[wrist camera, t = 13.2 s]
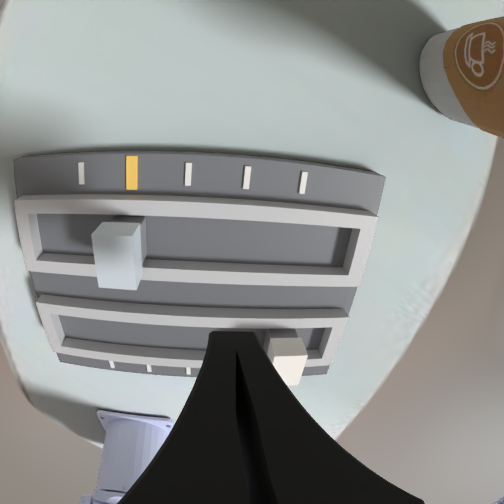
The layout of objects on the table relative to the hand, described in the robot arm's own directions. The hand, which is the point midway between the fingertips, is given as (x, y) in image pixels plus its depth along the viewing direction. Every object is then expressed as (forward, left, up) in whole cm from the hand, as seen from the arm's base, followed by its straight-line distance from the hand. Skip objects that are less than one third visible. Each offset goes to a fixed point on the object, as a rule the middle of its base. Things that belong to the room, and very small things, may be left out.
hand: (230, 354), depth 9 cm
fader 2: (-7, -4, -9) cm, 12 cm away
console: (-3, +2, -10) cm, 11 cm away
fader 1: (0, +5, -9) cm, 10 cm away
